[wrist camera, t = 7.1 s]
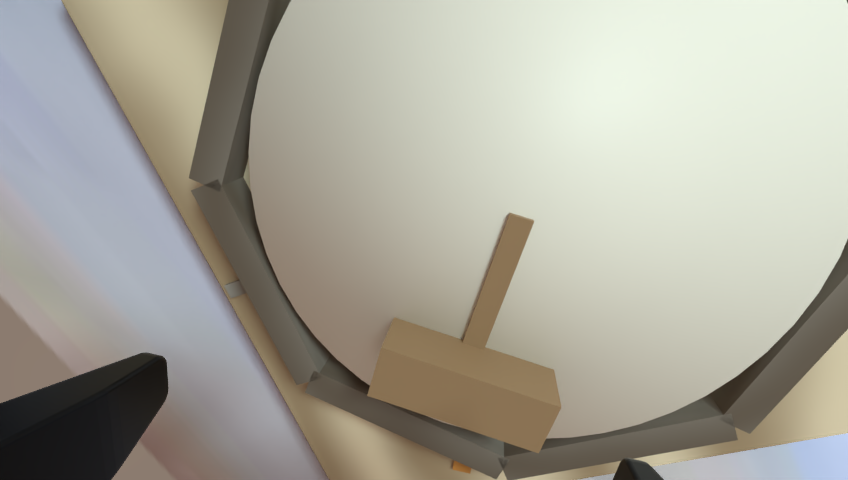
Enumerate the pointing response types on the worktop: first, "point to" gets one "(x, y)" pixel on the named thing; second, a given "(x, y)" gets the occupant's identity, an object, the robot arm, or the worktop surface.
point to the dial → (551, 197)
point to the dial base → (311, 361)
